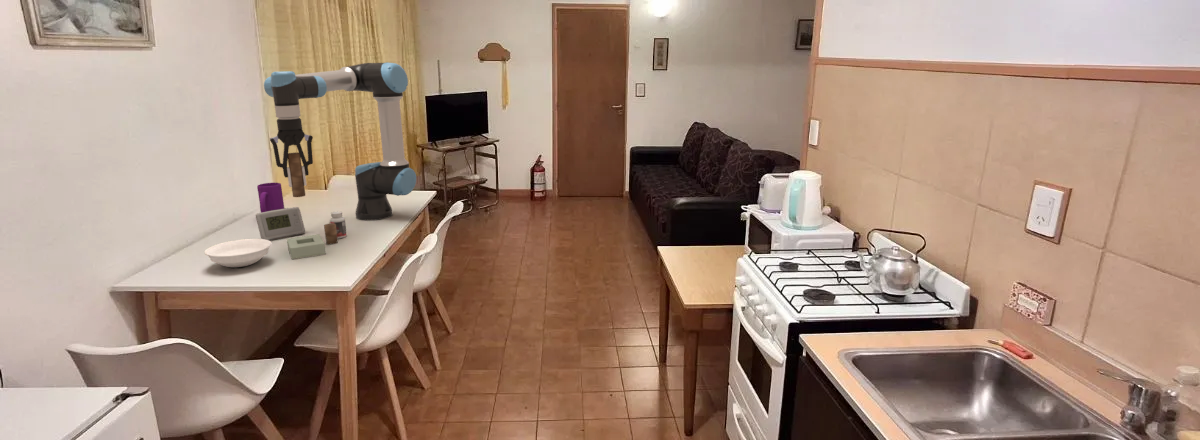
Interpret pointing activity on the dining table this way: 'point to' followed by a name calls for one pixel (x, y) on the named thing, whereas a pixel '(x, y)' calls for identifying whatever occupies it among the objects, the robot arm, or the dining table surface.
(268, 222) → the digital clock
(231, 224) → the dining table surface
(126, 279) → the dining table surface
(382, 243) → the dining table surface
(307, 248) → the hole board
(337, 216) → the pill bottle
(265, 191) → the mug
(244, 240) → the bowl
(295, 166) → the long dowel
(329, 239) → the short dowel
